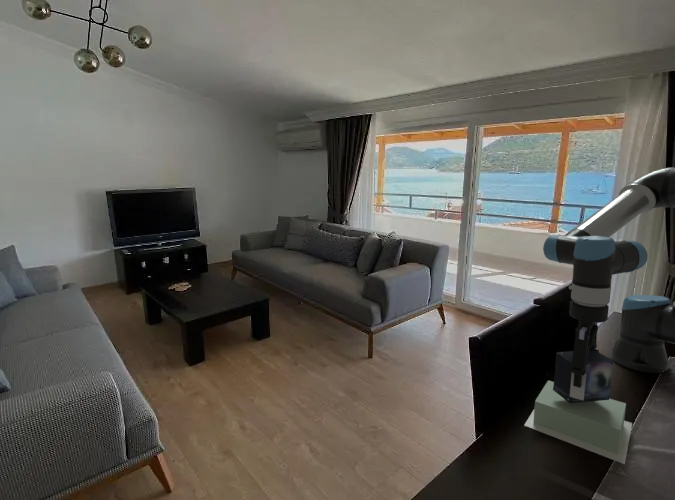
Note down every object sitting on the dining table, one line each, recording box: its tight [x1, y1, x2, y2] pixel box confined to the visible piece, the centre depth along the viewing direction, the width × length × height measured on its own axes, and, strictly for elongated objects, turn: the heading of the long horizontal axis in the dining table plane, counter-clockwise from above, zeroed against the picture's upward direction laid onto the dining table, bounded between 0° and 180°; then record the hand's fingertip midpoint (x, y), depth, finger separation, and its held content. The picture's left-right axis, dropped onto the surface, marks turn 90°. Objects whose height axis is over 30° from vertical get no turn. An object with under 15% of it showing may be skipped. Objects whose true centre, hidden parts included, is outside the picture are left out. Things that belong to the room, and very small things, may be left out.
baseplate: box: [523, 409, 633, 465], centre depth 91 cm, size 18×20×1 cm
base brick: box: [533, 380, 627, 454], centre depth 91 cm, size 13×17×6 cm
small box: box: [553, 349, 615, 403], centre depth 89 cm, size 11×6×10 cm, turn 97°
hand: (581, 387), depth 89 cm, fingers closed on small box, 11 cm apart
